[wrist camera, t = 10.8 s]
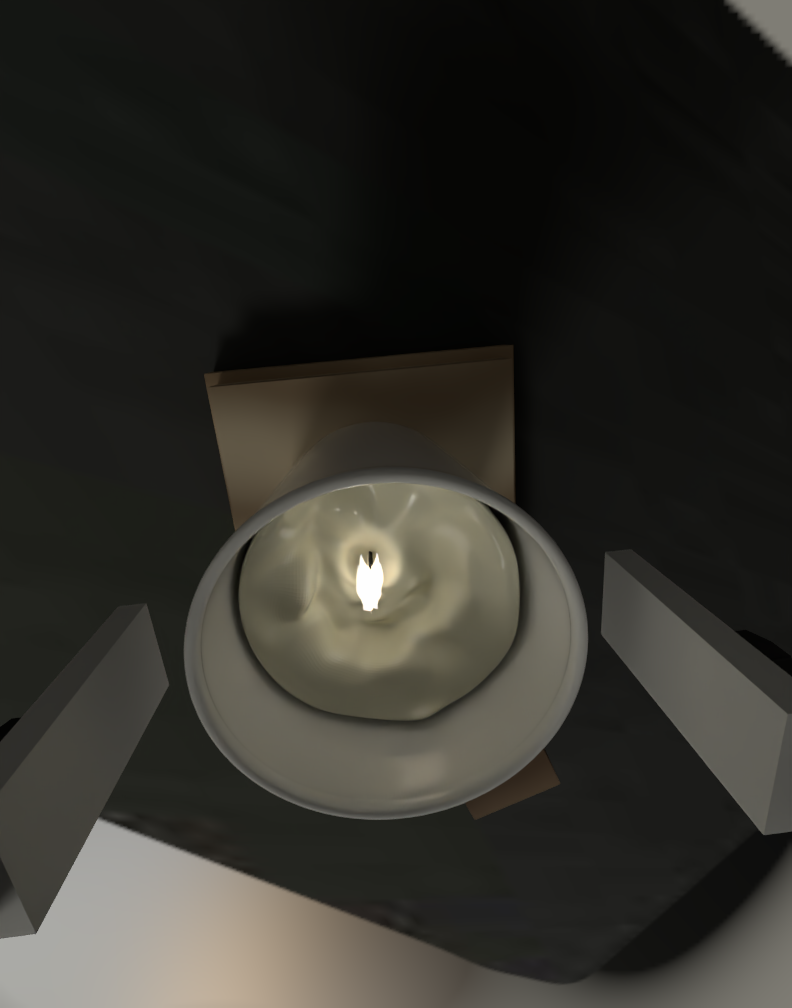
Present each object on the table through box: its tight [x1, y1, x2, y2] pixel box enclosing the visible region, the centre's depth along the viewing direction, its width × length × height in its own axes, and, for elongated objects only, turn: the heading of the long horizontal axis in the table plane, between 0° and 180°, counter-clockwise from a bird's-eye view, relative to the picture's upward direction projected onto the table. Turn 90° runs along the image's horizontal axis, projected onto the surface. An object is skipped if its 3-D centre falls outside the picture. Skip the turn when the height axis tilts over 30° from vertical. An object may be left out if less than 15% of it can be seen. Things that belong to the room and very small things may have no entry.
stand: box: [204, 345, 516, 531], centre depth 25 cm, size 14×14×3 cm
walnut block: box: [465, 749, 560, 820], centre depth 29 cm, size 5×5×5 cm
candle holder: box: [184, 421, 588, 820], centre depth 18 cm, size 10×10×12 cm
